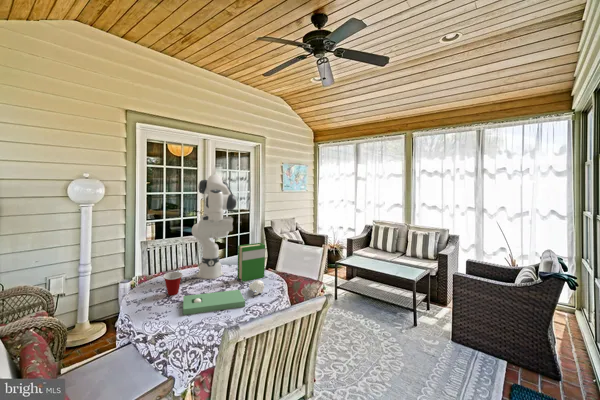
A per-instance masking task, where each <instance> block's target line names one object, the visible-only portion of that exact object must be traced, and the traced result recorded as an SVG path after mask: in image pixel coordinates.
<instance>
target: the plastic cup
mask: <svg viewBox="0 0 600 400" xmlns="http://www.w3.org/2000/svg"><path fill="white" fill-rule="evenodd" d="M162 277H163V279H164V282H165V287H166V290H167V291H166V292H167V295H168V296H176V295H178V294H179V291H180V285H181V280H182V277H183V272H181V271H170V272H166V273H164V275H162Z"/></svg>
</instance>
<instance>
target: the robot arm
mask: <svg viewBox="0 0 600 400" xmlns="http://www.w3.org/2000/svg"><path fill="white" fill-rule="evenodd" d="M197 190H198V192H199V194H202V195H206V196H205V200H204V206H203V207H204V208H203V214H202V215H200V217H199V218H200V220H199V221H198V223H195V224H193V226H192V228H191V234H192V236H193V237H194V238H195V239H197V241H199V243H200V245H201V248H202V257H201V264H200V265H199V266H198V269H199V270H198V273H197V275H196V278H198V279H199V278H200V279H205V280H211V279H217V278H220V277H221V276H224V275H225V274H224V272H223V271H222V263H221V262H220V256H219V254H220V253H219V250H220V249H219V245H218V244H217V243H216V242H213V241H212V240H219V238H225V237H227V236H228V235H229V233H230V232H233V230H234V229H233V228H234V225H233V222H234V218H233V217H232V216H230V215H229V216H224V210H226V211H233V210H234V209H235V208H236V207H237V202H238V201H237V198H236V196H235V195H234V194H233V192H232V190H231V187H229V184H228V183H227V182H226V181H223V179H222V177H221V176H220V175H219V174H217V173H216V174H215V173H213V174H211V175H209V176H208V178H207V179H202V180H200V181H199V182H198V184H197ZM211 239H212V240H211Z"/></svg>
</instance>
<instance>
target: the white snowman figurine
mask: <svg viewBox="0 0 600 400" xmlns="http://www.w3.org/2000/svg"><path fill="white" fill-rule="evenodd" d="M248 287H249V291H250V292H251V291H252V292H253V293H254V294H253V295H254V296H257V295H258V294H263V291H264V289H265V284H264V281H262V280H260V279H256V280H254V281H253V282H251V283H250V284H249V286H248Z"/></svg>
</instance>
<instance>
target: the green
mask: <svg viewBox="0 0 600 400" xmlns="http://www.w3.org/2000/svg"><path fill="white" fill-rule="evenodd" d="M197 298H199V299H201V301H202V302H199V303H194V300H195V299H197ZM182 306H183V307H182V309H183V310H182V312H183V313H182V314H183V316H184V315H186V316H187V315H194V314H201V313H207V312H213V311H214V312H215V311H222V310H228V309H229V310H230V309H236V308H243V307H246V300H245V298H244V296H243V294H242V292H241V290H240V289H233V290H225V291H223V290H222V291H215V292H207V293H198V294H190V295H183V303H182Z"/></svg>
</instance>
